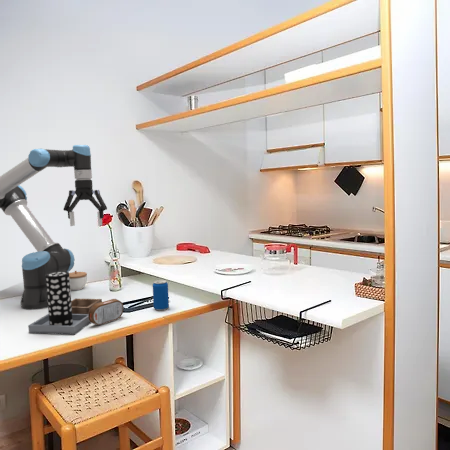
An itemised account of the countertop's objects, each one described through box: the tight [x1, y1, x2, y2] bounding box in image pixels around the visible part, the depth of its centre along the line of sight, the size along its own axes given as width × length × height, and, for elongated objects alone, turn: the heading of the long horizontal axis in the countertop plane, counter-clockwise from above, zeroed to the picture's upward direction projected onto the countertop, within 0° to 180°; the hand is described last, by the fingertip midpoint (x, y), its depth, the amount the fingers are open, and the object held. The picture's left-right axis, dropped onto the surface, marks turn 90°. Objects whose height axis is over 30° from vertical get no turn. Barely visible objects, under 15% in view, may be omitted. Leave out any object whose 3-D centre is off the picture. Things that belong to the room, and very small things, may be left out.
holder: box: [71, 298, 103, 314], centre depth 177 cm, size 12×12×5 cm
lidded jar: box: [69, 270, 88, 291], centre depth 219 cm, size 11×11×9 cm
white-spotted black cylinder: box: [45, 271, 73, 326], centre depth 162 cm, size 8×8×20 cm
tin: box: [88, 298, 124, 326], centre depth 167 cm, size 15×3×8 cm, turn 141°
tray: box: [27, 313, 92, 336], centre depth 163 cm, size 18×14×3 cm
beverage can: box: [152, 279, 170, 312], centre depth 182 cm, size 6×6×12 cm
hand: (86, 225), depth 196 cm, fingers open, 13 cm apart
